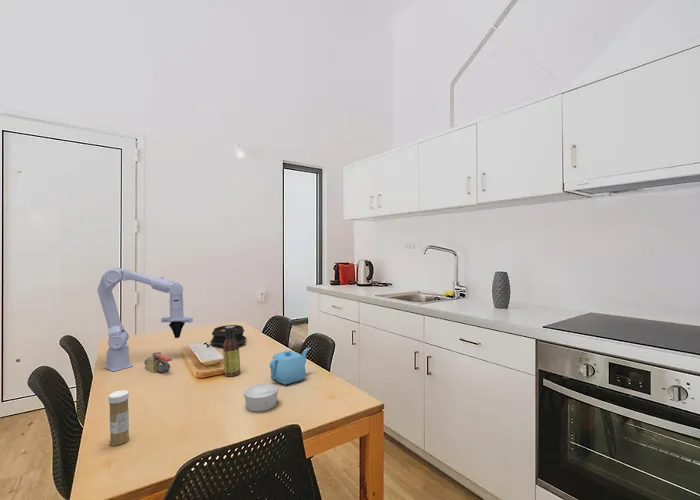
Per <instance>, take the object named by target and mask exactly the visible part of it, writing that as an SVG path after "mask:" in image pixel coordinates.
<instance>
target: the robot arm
mask: <svg viewBox="0 0 700 500" xmlns="http://www.w3.org/2000/svg"><path fill="white" fill-rule="evenodd" d="M130 280H131V281H134V282H139V283H141V284H145V285H149V286H151V288H152V290H156V291H158V292H162V293H166V294H168V293H169V317H162V318H161V319H160V321H161V324H162V323H169V324H168V326H169V327H170V329H171V331H172V333H173V335H174V336H173V337H174V338H175V339H180V337H181V334H182V330H183V328H184V325H185V323H190V324H191V323H192V322H194V321H193V317H187V316H184V297H183V295H184V294H183V292H184V287H183V285H182V284H181V283H180V282H178V281H177V282H176V281H175V280H168V279H165V278H164V277H163V276H160V277H159V276H157V277H154V278H153V277H150V276H149V275H148V276H147V275H145V274H141V273H138V272H136V271H133V270H130V269H126V268H120V267H113V268H109V269H108V270H107V271H105V272H104V274H103V275H101V280H100V282H99V284H98V286H97V288H96V289H97V294H98V298H99V301H100V304H101V309H102V311H103V315H104V317H105V321H106V325H107V331H108V333H107V334H108V342H107V344H108V349H107V350H106V353H105V354H106V365H105V366H104V369H106V370H108V371H111V372H117V371H121V370H124V369H128V368H132V367H134V365H133V364H131V363H130V357H129V356H130V355H129V354H130V353H129V344H128V343H127V342H128V340H129V333H128V331H126V330H125V327H124V325H123V324H122V321H121V317H120V315H119V312H118V308H117V304H116V301H115V297H114V294H113V290H114V288H115V287H116V286H117V284H119V283H120V282H125V281H130Z"/></svg>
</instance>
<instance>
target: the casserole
mask: <svg viewBox="0 0 700 500" xmlns="http://www.w3.org/2000/svg"><path fill="white" fill-rule="evenodd" d="M226 326H235V337H236V339H237V342H238V345H239V346H240V345H242V344H245V343H246V340H247V336H245V335H244V332H245V329H244V328H243V326H242V325H238V324H230V325H229V324H228V325H227V324H226V325H221V326H217V327H215V328H214V329H213V331H212V333H211V335H212V336H213V337H212V339H211V340H210V341H209V343H210V344H212V345H216V346H222V347H223V343H224V341H225V338H226V337H225V336H226V334H225V327H226Z"/></svg>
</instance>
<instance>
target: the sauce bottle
mask: <svg viewBox="0 0 700 500" xmlns="http://www.w3.org/2000/svg"><path fill="white" fill-rule="evenodd" d="M225 326H226V325H225ZM225 334H226V336H225V337H226V338H225V341H224V343H223V346H222V350H223V351H222V352H223V353H222V354H223V355H222V356H223V369H224V370H223V371H224V375H225V377H236V376H238V375H240V373H241V361H240V360H241V359H240V344H239V345H238V342H237V339H236V337H235V326H226V327H225Z"/></svg>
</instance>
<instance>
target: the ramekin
mask: <svg viewBox="0 0 700 500" xmlns="http://www.w3.org/2000/svg"><path fill="white" fill-rule="evenodd" d="M278 393H279V387H278V386H277V385H276V384H274V383H266V382H264V383H257V384H253V385H250V386H249V387H247V388H245V390H244V392H243V396H244V398H245V405H246V408H247V409H248V410H249V411H251V412H257V413H258V412H259V413H260V412H265V411H269V410H271V409H273V408H274V407H275V406H276V404H277V401H278Z"/></svg>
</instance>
